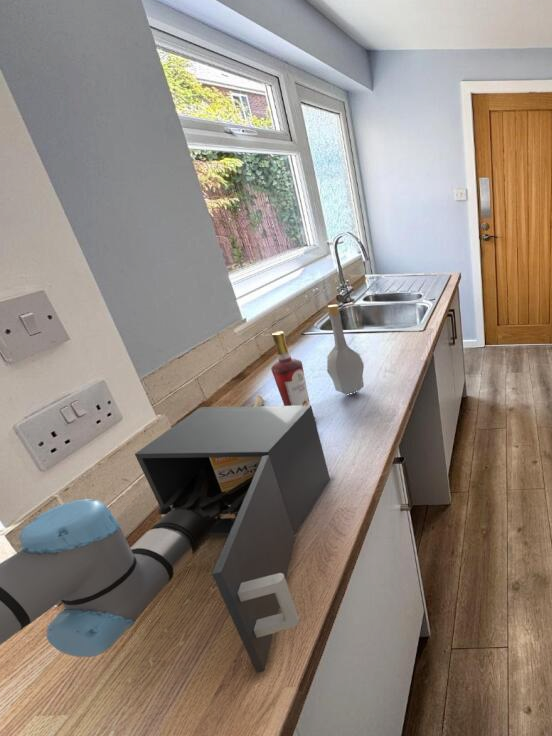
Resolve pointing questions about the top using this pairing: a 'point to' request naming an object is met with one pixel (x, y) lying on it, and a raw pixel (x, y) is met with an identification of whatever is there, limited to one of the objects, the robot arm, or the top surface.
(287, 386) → the liquor
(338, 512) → the top surface
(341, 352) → the bottle
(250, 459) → the supplement box
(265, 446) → the cabinet
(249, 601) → the cabinet door
